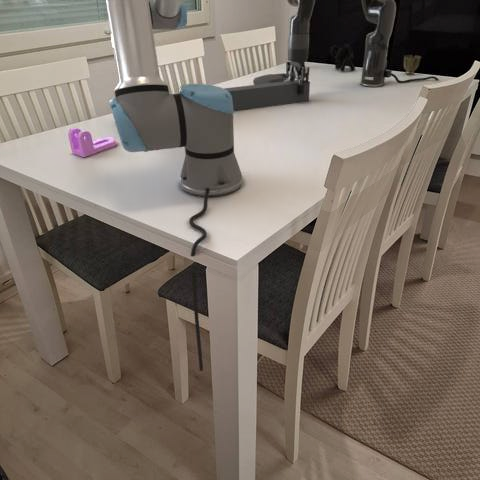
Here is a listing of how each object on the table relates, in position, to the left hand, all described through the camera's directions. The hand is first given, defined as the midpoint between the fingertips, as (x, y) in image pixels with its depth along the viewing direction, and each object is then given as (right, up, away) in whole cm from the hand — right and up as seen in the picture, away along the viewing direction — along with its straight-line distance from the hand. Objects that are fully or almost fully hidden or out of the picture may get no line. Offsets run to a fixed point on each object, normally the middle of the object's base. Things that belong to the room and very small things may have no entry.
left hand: (135, 120), depth 154 cm
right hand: (+58, +16, +18) cm, 63 cm away
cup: (+116, +37, +56) cm, 134 cm away
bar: (+29, +6, +10) cm, 31 cm away
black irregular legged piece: (+88, +43, +67) cm, 118 cm away
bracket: (-6, -14, -22) cm, 27 cm away
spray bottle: (+53, +30, +48) cm, 78 cm away
